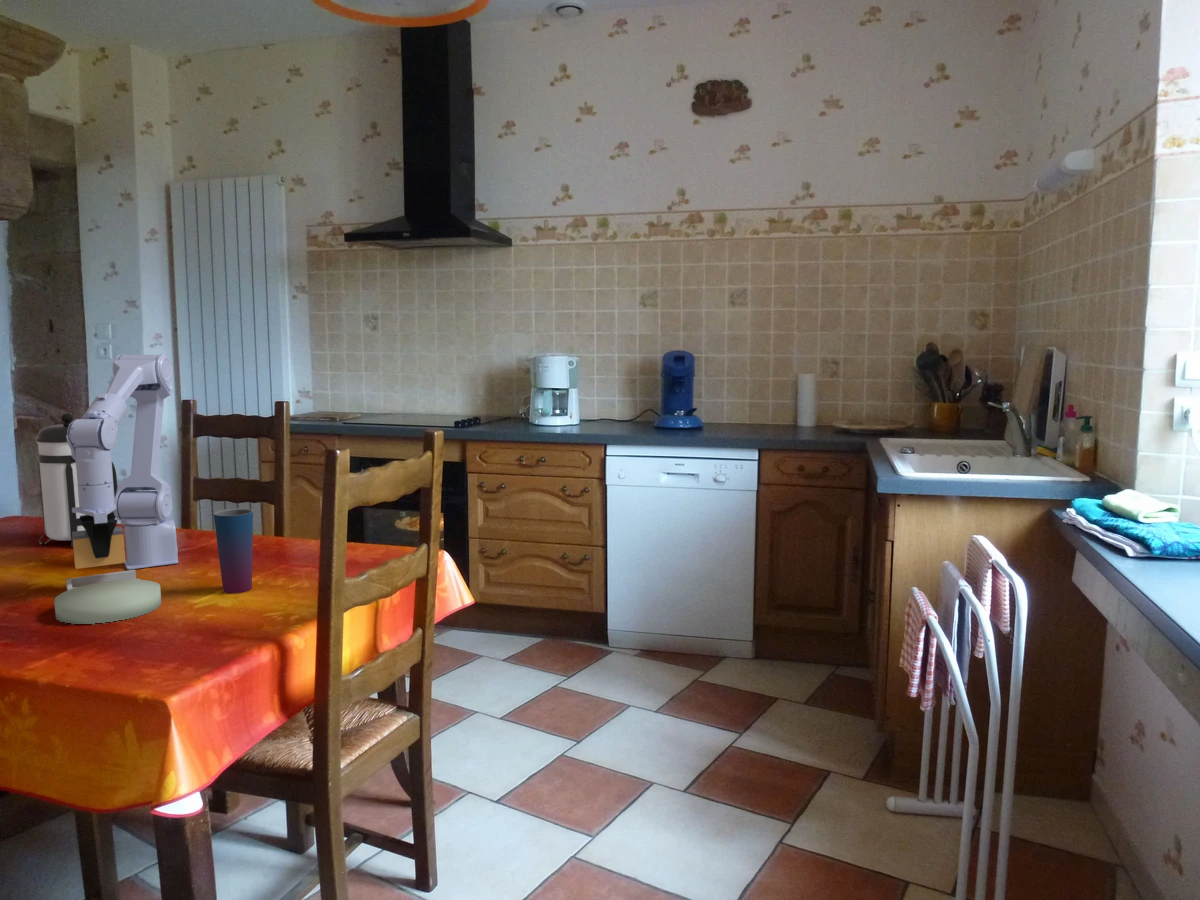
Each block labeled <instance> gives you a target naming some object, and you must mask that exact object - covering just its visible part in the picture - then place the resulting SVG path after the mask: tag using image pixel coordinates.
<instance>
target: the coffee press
mask: <svg viewBox="0 0 1200 900" xmlns="http://www.w3.org/2000/svg"><path fill="white" fill-rule="evenodd" d="M60 419H61V420H62V422H63V424H52V425H48V426H45V427H43V428H41V429H40V430H39V432H38V433H37V436H35V438H34V439H35V442H36V443H37V447H38V453H37V461H38V463H37V464H38V474H39V475H38V476H39V486H40V487H39V488H40V497H41V511H42V522H43V534H42V536H40V538H39V540H38V543H39V545H41V544H42V543H43V542H41V539H42V538H43V537H44V536H45V535H46V536H47V537H48V538H49V539H48V540H46V541H45V542H44V543H45V545H47V544H48V543H49V542H50V541H51V540H53V541H54V540H55V541H70V547H73V537H72V532H74V531H84V530H85V529H84V527H83V526H82V524H81V519H80V516H83V515H86V514H82V513H79V512H78V513H73V512H72V508H74V507H79V497H78V485H77V472H76V460H75V459H73V457H72V454H71V449H70V447H69V445H68V442H67V438H66V436H67V430H68V427H69V425H70V423H72V422H73V421H74V420H73V419H74V416H73V415H72V414H71V413H69V412H68V413H64V414H63V415H62V416H61V418H60ZM112 473H113V486H114V497H115V495H116V492H117V487H118V478H117V472H116V466H115V465H114V463H113V461H112ZM112 512H113V511H112ZM115 519H117V518H116V516H115V515H114V517H113V519H112V520H115ZM41 546H42V545H41Z"/></svg>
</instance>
